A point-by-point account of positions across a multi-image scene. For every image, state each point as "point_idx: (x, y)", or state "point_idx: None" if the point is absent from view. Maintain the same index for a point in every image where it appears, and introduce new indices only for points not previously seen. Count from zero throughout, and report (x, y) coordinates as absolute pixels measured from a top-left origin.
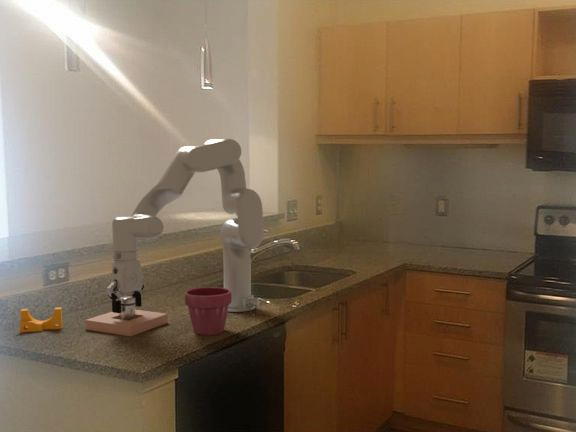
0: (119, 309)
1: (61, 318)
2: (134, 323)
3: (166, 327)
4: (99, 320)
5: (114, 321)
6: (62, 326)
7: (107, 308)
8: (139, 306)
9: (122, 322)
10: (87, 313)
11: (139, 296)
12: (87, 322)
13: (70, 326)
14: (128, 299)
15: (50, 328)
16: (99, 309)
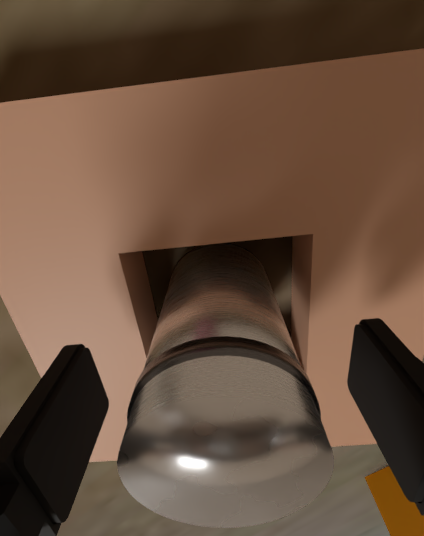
0: (397, 344)
1: (412, 516)
2: (379, 108)
3: (68, 4)
4: None
5: (375, 301)
6: (367, 477)
7: (67, 521)
8: (84, 351)
9: (381, 233)
10: (166, 523)
11: (32, 440)
12: None
13: (351, 461)
14: (273, 424)
15: None
16: (98, 528)
